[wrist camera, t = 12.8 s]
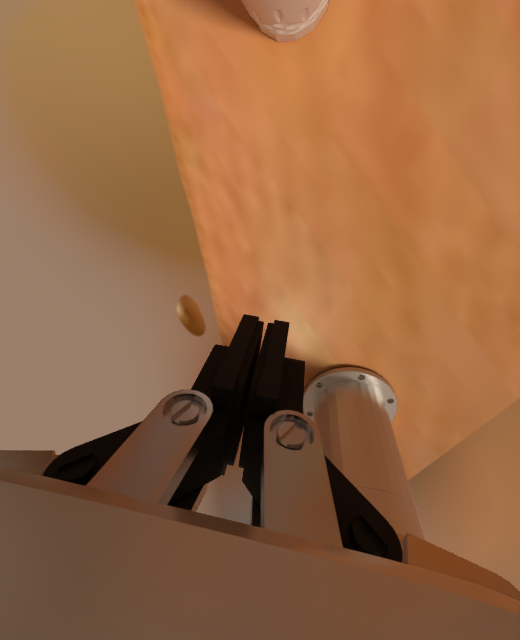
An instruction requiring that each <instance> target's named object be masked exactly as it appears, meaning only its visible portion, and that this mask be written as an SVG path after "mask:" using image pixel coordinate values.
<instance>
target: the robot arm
mask: <svg viewBox="0 0 520 640" xmlns="http://www.w3.org/2000/svg"><path fill="white" fill-rule="evenodd" d="M263 325H264V322H262V321H259V317H256V316H251V315H245V314H244V315H243V317H242V320H241V322H240V324H239V326H238V328H237V331H236V333H235V335H234V337H233V339H232V342H231V344H230V346H229V347H227V346H222V345H215V346H214V347H213V349H212V351H211V353H210V355H209V357H208V359H207V361H206V362H205V364H204V366H203V368H202V370H201V372H200V373H199V375H198V377H197V379H196V381H195V383H194V385H193V387H192V388H191V390H180V391H176V392H173V393H171V394H169V395H167V396H166V397H165V398H163V399H162V400H161V401H160V402H159V403H158V405H157V406H156V407H155V408H154V409H153V410H152V411H151V413H150V414H149V415H148V416H147V417H146V418H145V419H144V420H143V421H142V422H139V423H137V424H134V425H132V426H129V427H126V428H124V429H121V430H118V431H116V432H113V433H110V434H108V435H105V436H103V437H100V438H97V439H95V440H92V441H89V442H87V443H84V444H82V445H79V446H77V447H74V448H72V449H70V450H68V451H66V452H64V453H62V454H61V455H56V454H55V451H31V450H29V451H28V450H26V451H25V450H23V451H19V450H0V640H520V591H518V589H516V588H515V587H514V586H513V585H512V584H511V583H510V582H509V581H507V580H506V579H504V578H502V577H501V576H499V575H498V574H496V573H494V572H492V571H489V570H487V569H485V568H483V567H481V566H479V565H477V564H474V563H472V562H470V561H468V560H466V559H464V558H461V557H459V556H457V555H455V554H453V553H451V552H449V551H446V550H444V549H442V548H440V547H438V546H436V545H434V544H431V543H429V542H427V541H426V540H425V537H424V534H423V530H422V527H421V523H420V520H419V517H418V514H417V510H416V506H415V503H414V500H413V496H412V493H411V490H410V486H409V483H408V479H407V476H406V473H405V469H404V466H403V463H402V459H401V456H400V453H399V449H398V446H397V442H396V439H395V436H394V432H393V429H392V426H391V422H392V420H393V419H394V417H395V414H396V412H397V399H396V396H395V393H394V390H393V389H392V387H391V385H390V384H389V383H388V382H387V381H386V380H385V379H384V378H383V377H381V376H380V375H378V374H376V373H374V372H372V371H370V370H366V369H362V368H355V367H341V368H336V369H331V370H329V371H326V372H324V373H322V374H320V375H318V376H317V377H315V378H314V379H313V380H312V381H311V382H310V383H309V384H308V386H307V387H306V389H305V392H304V372H305V362H304V361H300V360H295V359H290V358H285V357H284V356H285V349H286V342H287V336H288V329H289V322H284V321H278V320H275V321H274V324H273V323H268V325H267V329H266V333H265V336H264V340H263V343H262V347H261V350H260V346H261V339H262V332H263ZM259 353H260V354H259ZM303 411H304V414H305V415H304V414H303ZM243 428H244V431H243ZM242 432H243V438H242V446H241V453H240V460H239V467H241V468H244V471H243V479H242V481H243V483H244V484H245V486H246V487H247V489H248V490H249V492H250V494H251V495H252V498H251V508H250V509H251V510H250V525H248V524H243V523H239V522H235V521H231V520H227V519H223V518H218V517H214V516H210V515H206V514H202V513H198V512H196V511H197V509H198V507H199V505H200V503H201V501H202V499H203V497H204V495H205V493H206V490H207V487H208V483H209V482H210V481H212V480H214V479H216V478H217V477H219V476H220V475H224V474H225V470H226V467H227V464H228V465H232V466H233V465H234V462H235V458H236V454H237V451H238V447H239V442H240V439H241V435H242Z"/></svg>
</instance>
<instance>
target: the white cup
mask: <svg viewBox="0 0 520 640" xmlns="http://www.w3.org/2000/svg"><path fill="white" fill-rule="evenodd" d="M240 1H241V2H242V4H243V6H244V7H245V9H246V10H247V12H248V13H249V15H250V16H251V17H252V18H253V19H254V20H255V21H256V23H257V25H258V26H259V28H260V30H261V31H262V32H263V33H265V34H266V35H268V36H269V37H271V38H273V39H274V40H276V41H278V42H285V41H297V40H299V39H300V38H302V37H303V36H305V35H306V34H308V33H309V32H311V31H312V30H314V28H315V27H316V25H317V24H318V22H319V21H320V19H321V18H322V16H323V15H324V13H325V12H326V10H327V8H328V4H329V0H240Z"/></svg>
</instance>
